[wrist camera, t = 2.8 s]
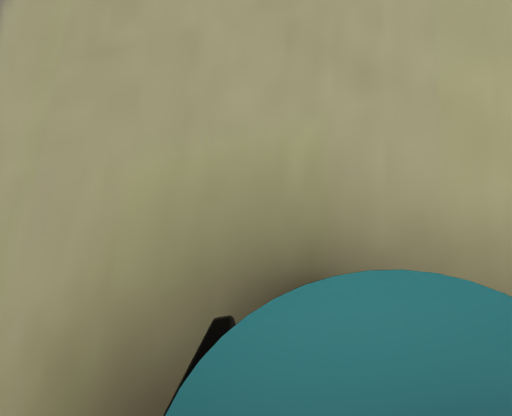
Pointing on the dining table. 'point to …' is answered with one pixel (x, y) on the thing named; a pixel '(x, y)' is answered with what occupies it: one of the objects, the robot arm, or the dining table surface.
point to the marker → (362, 352)
